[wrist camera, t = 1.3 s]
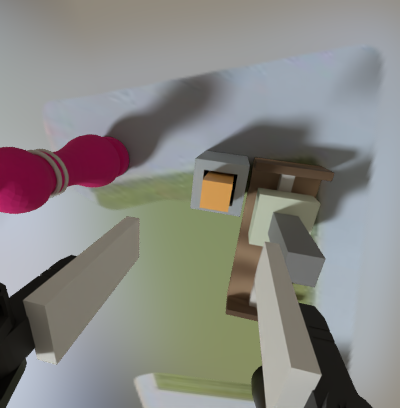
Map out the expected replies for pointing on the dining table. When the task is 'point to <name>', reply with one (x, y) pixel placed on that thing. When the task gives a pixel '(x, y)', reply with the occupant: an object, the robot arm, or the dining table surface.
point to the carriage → (289, 231)
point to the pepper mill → (57, 170)
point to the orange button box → (225, 165)
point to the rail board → (247, 253)
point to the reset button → (216, 191)
